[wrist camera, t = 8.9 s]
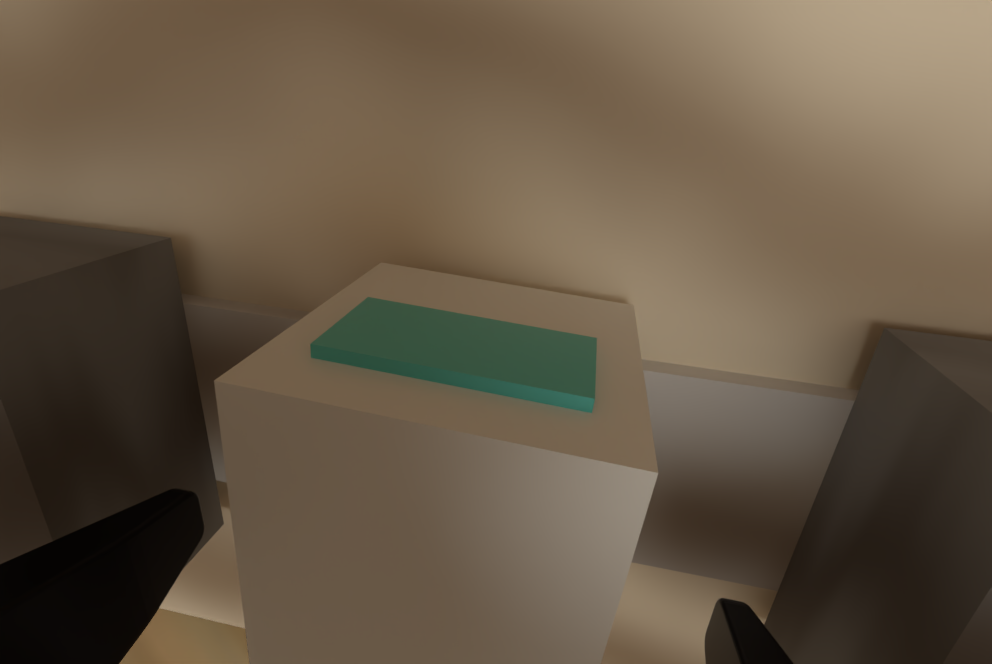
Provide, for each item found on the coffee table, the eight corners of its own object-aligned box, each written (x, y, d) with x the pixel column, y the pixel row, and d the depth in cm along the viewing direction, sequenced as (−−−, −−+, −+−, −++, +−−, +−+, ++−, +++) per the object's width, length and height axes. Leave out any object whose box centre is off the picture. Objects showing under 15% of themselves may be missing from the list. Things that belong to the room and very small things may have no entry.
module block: (563, 600, 13) (542, 857, 9) (374, 553, 14) (263, 771, 9) (635, 295, 10) (662, 457, 5) (381, 252, 10) (212, 364, 6)
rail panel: (880, 744, 15) (1015, 1055, 10) (143, 574, 19) (-26, 746, 14) (1324, 27, 8) (2576, -106, 3) (-29, -36, 11) (-531, -148, 6)
